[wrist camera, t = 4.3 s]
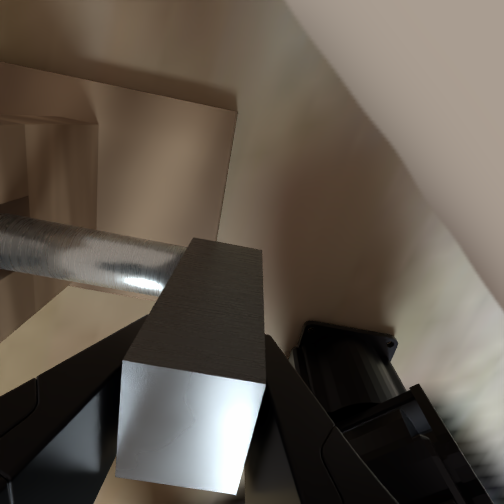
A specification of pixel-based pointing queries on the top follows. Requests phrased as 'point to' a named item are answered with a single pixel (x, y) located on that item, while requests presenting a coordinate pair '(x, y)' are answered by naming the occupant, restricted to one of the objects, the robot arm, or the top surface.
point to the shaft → (169, 344)
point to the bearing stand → (105, 169)
